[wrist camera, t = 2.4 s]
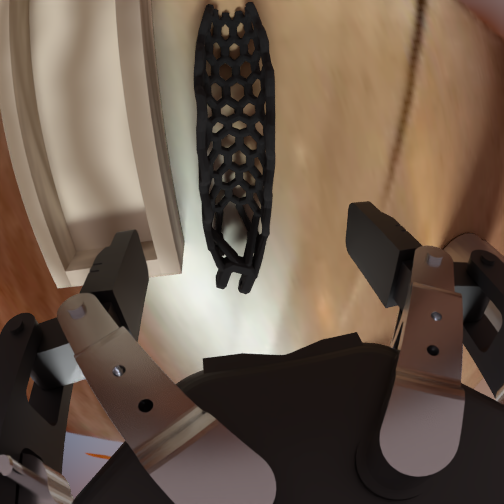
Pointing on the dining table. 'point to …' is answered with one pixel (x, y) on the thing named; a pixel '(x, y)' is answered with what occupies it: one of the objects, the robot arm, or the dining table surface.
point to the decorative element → (204, 136)
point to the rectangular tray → (88, 131)
